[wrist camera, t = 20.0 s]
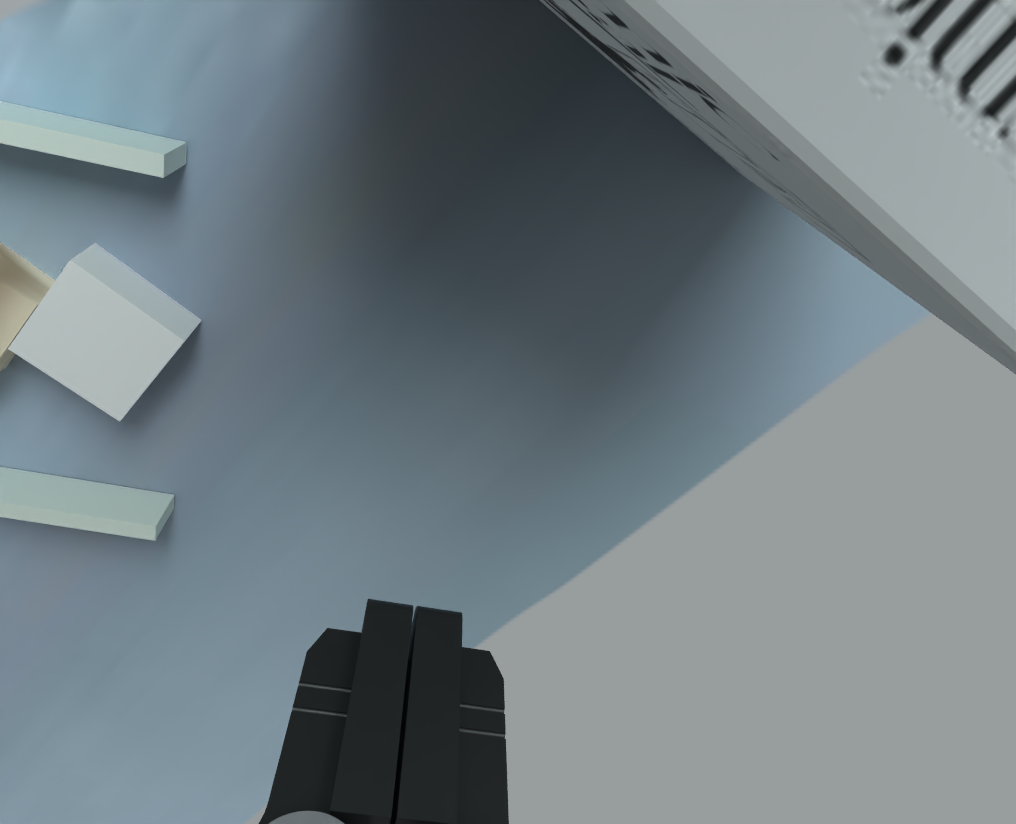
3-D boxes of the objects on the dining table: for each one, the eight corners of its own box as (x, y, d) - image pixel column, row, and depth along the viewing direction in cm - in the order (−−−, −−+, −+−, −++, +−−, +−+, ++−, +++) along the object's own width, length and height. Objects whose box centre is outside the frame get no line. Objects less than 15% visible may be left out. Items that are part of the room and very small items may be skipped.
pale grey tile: (98, 240, 39) (70, 259, 36) (203, 318, 41) (184, 341, 38) (38, 325, 41) (7, 348, 38) (141, 394, 43) (119, 421, 40)
